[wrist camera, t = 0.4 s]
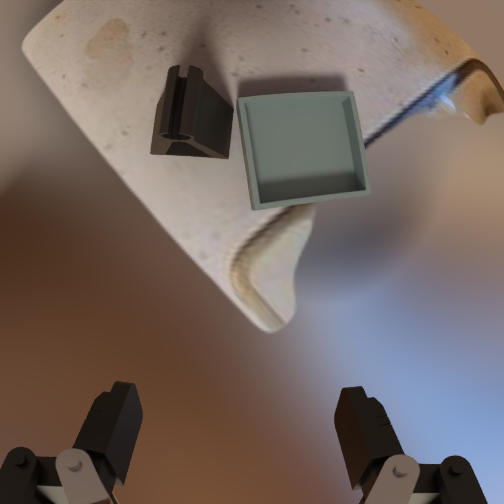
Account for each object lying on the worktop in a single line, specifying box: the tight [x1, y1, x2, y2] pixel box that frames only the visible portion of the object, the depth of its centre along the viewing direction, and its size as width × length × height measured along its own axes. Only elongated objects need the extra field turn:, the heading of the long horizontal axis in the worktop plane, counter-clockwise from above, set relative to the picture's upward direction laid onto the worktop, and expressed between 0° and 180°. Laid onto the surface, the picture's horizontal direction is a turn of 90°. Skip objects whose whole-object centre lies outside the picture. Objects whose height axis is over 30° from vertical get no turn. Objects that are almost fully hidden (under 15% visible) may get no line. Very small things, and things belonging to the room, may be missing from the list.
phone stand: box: [150, 65, 234, 159], centre depth 28 cm, size 9×6×12 cm, turn 84°
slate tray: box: [236, 91, 371, 210], centre depth 34 cm, size 12×13×4 cm
